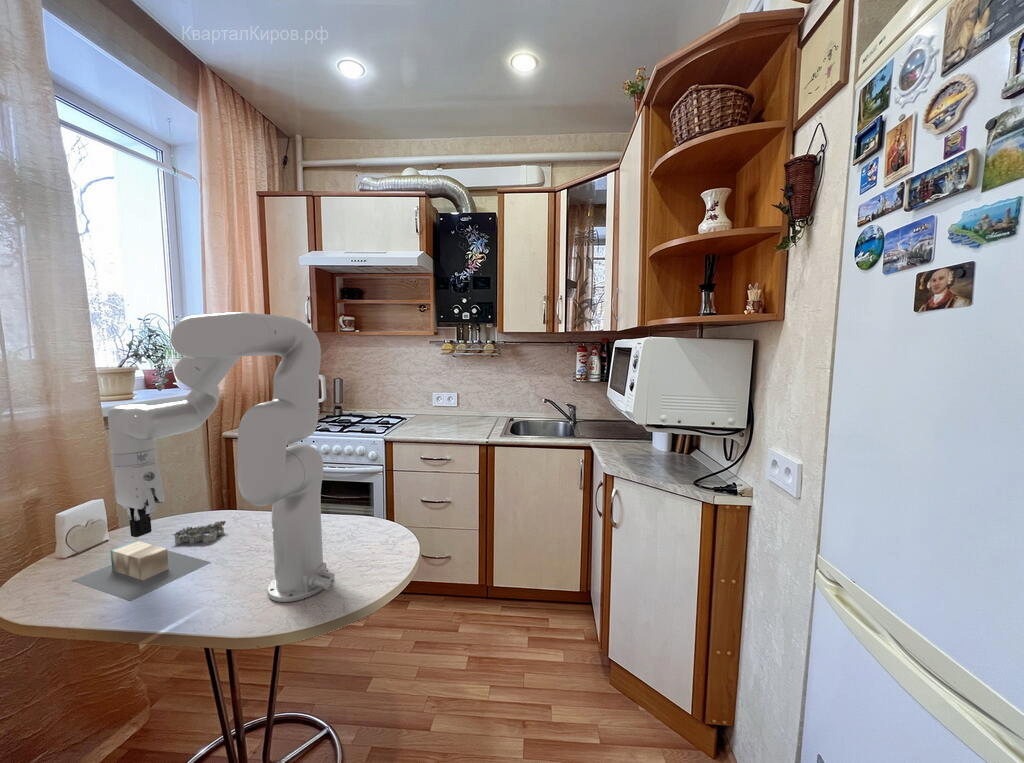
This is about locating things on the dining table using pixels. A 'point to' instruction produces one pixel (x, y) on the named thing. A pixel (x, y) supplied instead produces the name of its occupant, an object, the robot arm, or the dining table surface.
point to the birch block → (139, 560)
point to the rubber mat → (135, 587)
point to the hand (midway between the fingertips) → (141, 534)
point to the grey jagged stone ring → (193, 533)
